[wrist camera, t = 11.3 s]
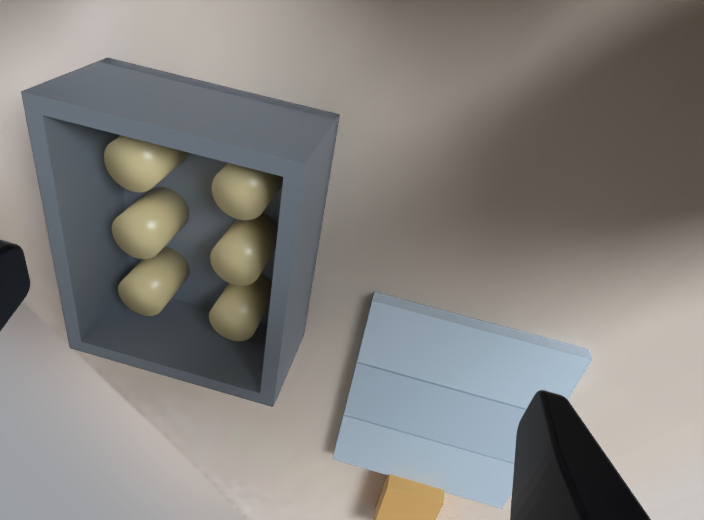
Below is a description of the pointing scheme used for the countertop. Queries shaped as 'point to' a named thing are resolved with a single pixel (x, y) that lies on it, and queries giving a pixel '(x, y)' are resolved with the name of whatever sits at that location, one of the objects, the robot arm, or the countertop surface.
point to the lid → (444, 404)
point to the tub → (181, 221)
